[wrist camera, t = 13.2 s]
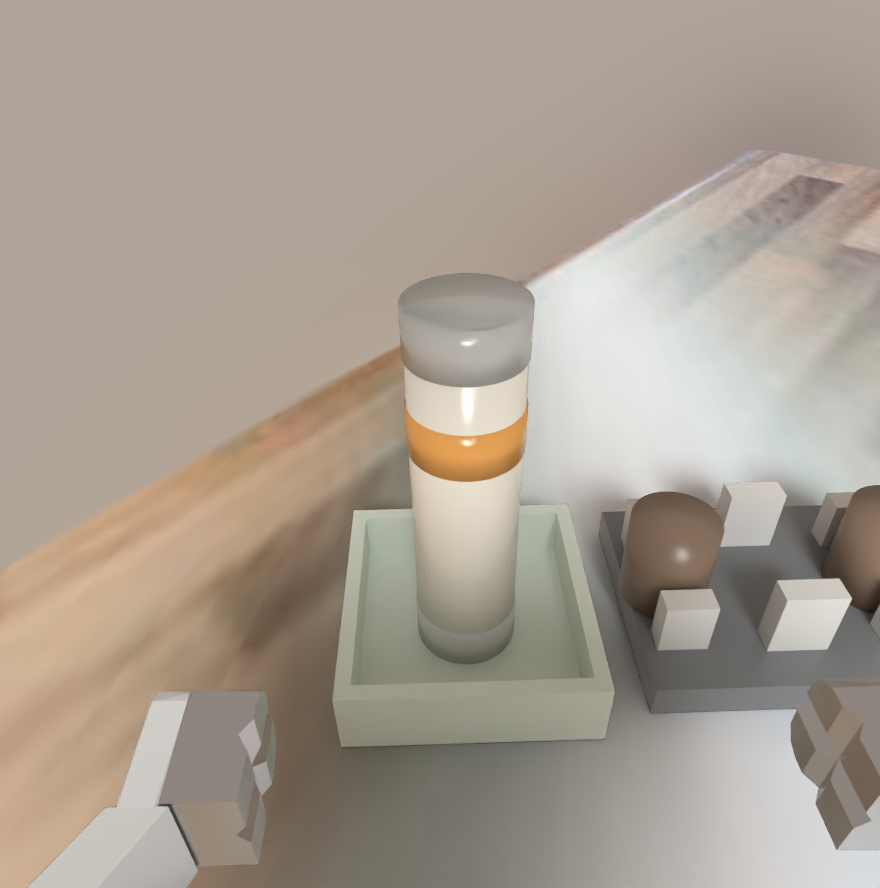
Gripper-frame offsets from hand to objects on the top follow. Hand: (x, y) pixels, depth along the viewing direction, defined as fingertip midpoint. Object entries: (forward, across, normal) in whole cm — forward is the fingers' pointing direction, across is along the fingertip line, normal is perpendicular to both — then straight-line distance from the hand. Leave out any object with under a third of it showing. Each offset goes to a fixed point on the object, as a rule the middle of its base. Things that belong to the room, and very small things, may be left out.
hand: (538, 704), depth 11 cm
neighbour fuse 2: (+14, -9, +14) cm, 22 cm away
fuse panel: (+14, -13, +15) cm, 25 cm away
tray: (+13, 0, +16) cm, 21 cm away
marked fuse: (+13, 0, +15) cm, 20 cm away
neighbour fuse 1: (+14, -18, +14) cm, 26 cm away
